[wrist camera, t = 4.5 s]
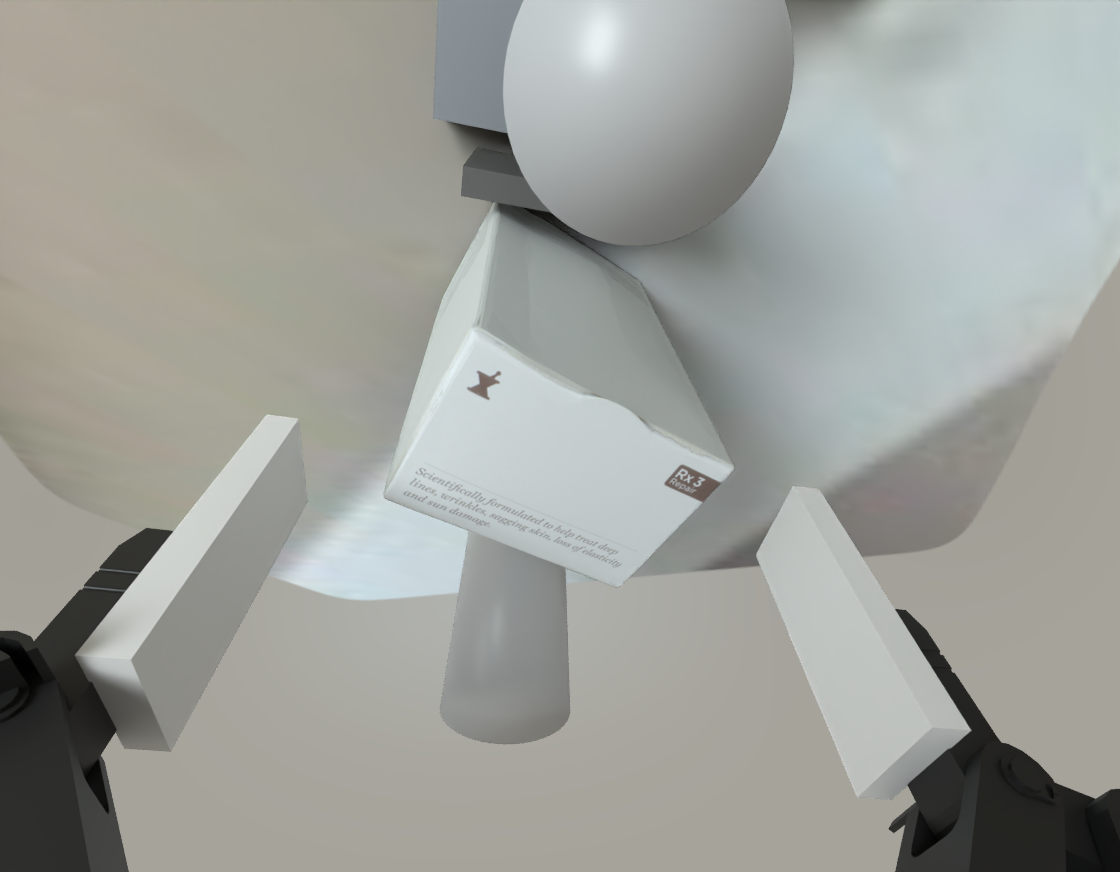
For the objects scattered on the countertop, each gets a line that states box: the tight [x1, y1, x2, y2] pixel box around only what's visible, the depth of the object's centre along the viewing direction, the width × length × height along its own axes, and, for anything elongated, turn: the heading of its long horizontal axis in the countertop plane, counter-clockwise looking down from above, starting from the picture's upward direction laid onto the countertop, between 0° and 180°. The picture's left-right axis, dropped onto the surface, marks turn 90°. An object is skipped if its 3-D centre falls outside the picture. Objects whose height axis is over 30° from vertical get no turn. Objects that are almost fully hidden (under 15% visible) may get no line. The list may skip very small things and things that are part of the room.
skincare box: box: [383, 202, 735, 588], centre depth 20 cm, size 8×6×15 cm
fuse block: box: [433, 0, 794, 744], centre depth 20 cm, size 11×23×16 cm, turn 170°
